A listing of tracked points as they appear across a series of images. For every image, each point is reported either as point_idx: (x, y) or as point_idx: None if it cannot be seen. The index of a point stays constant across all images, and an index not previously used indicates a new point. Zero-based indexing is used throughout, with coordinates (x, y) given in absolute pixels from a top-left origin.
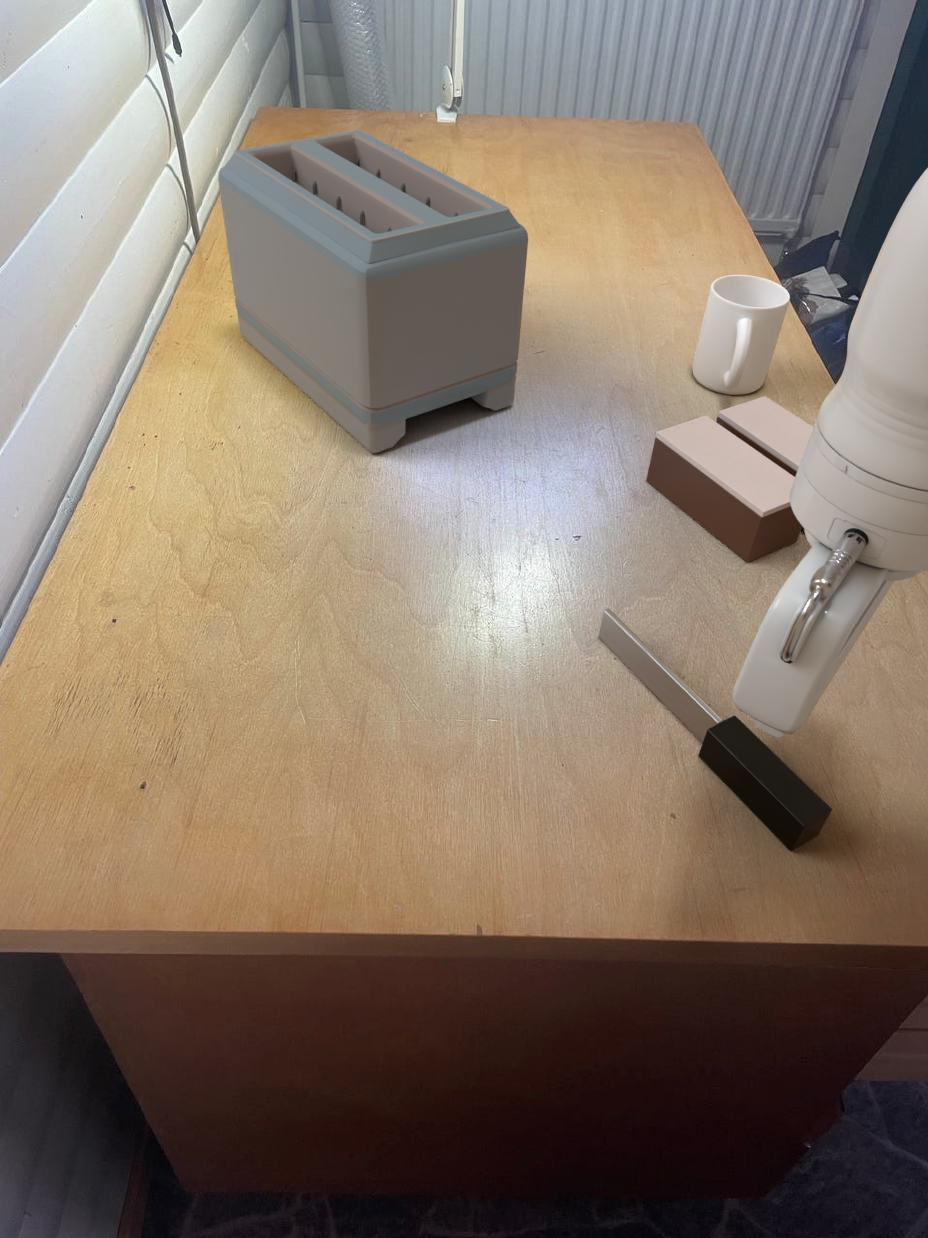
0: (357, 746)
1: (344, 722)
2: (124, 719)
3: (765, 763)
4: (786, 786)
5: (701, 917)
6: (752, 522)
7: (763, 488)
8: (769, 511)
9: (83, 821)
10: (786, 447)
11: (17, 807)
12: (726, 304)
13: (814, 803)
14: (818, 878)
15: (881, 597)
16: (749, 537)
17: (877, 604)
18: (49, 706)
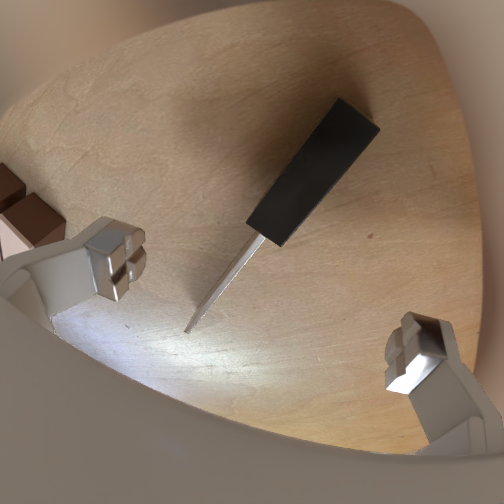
0: (363, 401)
1: (348, 407)
2: (368, 446)
3: (303, 182)
4: (327, 154)
5: (465, 201)
6: (40, 245)
7: (17, 251)
8: (27, 243)
9: (419, 440)
10: None
11: (414, 449)
12: None
13: (339, 119)
14: (393, 92)
15: (64, 481)
16: (50, 236)
17: (99, 487)
18: None
